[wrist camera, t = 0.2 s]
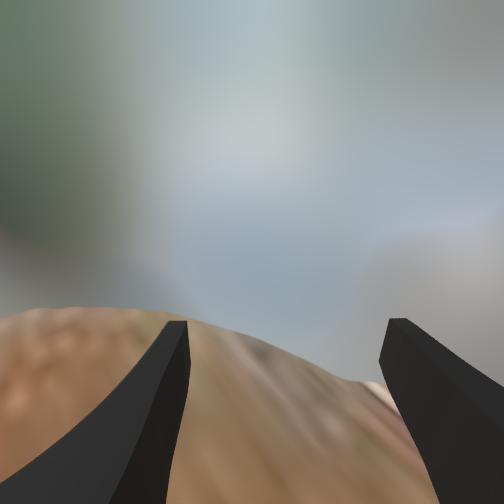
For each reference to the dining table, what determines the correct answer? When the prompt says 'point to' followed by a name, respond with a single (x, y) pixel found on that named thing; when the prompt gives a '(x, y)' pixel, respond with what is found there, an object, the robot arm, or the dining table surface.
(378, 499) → the dining table surface
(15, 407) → the dining table surface
